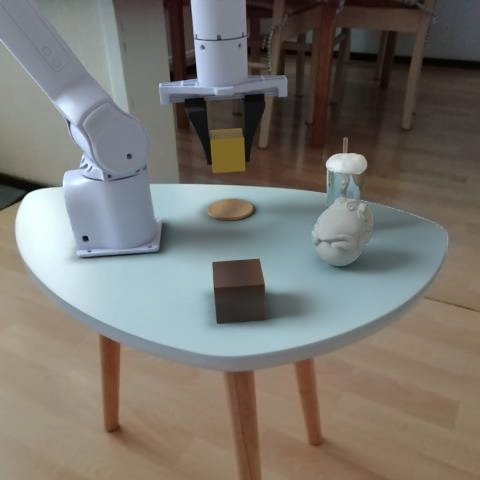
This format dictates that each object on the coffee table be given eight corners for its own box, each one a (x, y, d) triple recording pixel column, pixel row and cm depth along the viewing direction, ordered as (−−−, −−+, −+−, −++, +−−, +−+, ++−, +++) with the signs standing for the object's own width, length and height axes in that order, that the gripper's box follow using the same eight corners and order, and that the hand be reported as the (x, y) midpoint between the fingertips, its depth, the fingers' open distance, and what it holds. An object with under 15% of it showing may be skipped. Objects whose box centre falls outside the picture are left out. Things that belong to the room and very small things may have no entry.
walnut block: (216, 323, 46) (213, 287, 43) (215, 295, 50) (212, 261, 47) (265, 319, 46) (265, 284, 44) (260, 292, 50) (259, 258, 47)
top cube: (213, 173, 60) (210, 140, 58) (212, 162, 63) (209, 130, 61) (245, 171, 60) (244, 138, 58) (242, 159, 63) (241, 128, 61)
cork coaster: (208, 222, 63) (208, 219, 63) (207, 202, 68) (207, 200, 67) (254, 218, 63) (254, 216, 63) (250, 199, 68) (250, 197, 68)
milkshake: (357, 218, 62) (366, 137, 56) (361, 238, 58) (371, 153, 52) (320, 217, 62) (325, 137, 56) (322, 237, 58) (327, 153, 52)
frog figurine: (381, 259, 54) (390, 199, 49) (342, 285, 50) (348, 222, 46) (336, 241, 57) (341, 184, 53) (297, 264, 54) (299, 204, 49)
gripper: (150, 46, 50) (168, 176, 58) (292, 38, 50) (290, 168, 58) (155, 36, 55) (170, 156, 63) (282, 28, 56) (281, 149, 64)
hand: (227, 161), depth 61 cm, fingers closed on top cube, 4 cm apart
